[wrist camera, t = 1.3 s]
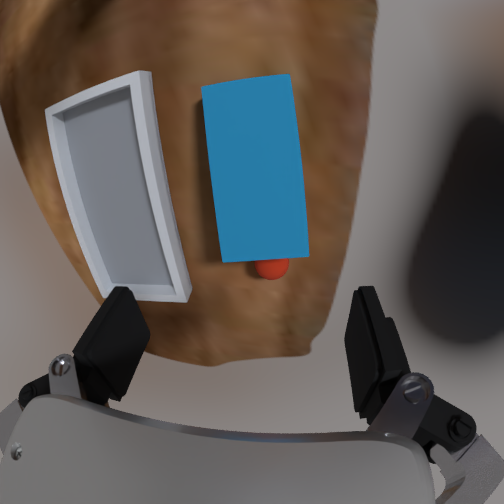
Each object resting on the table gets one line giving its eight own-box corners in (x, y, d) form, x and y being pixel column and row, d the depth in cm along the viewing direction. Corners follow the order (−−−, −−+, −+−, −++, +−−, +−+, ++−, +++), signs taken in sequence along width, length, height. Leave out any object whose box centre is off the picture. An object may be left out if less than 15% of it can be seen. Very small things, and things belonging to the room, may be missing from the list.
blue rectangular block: (222, 106, 25) (242, 274, 30) (201, 86, 18) (228, 303, 23) (289, 97, 24) (306, 270, 29) (289, 73, 17) (310, 299, 22)
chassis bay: (58, 106, 21) (44, 109, 19) (151, 71, 19) (138, 70, 17) (110, 286, 33) (102, 297, 31) (192, 288, 32) (187, 302, 30)
